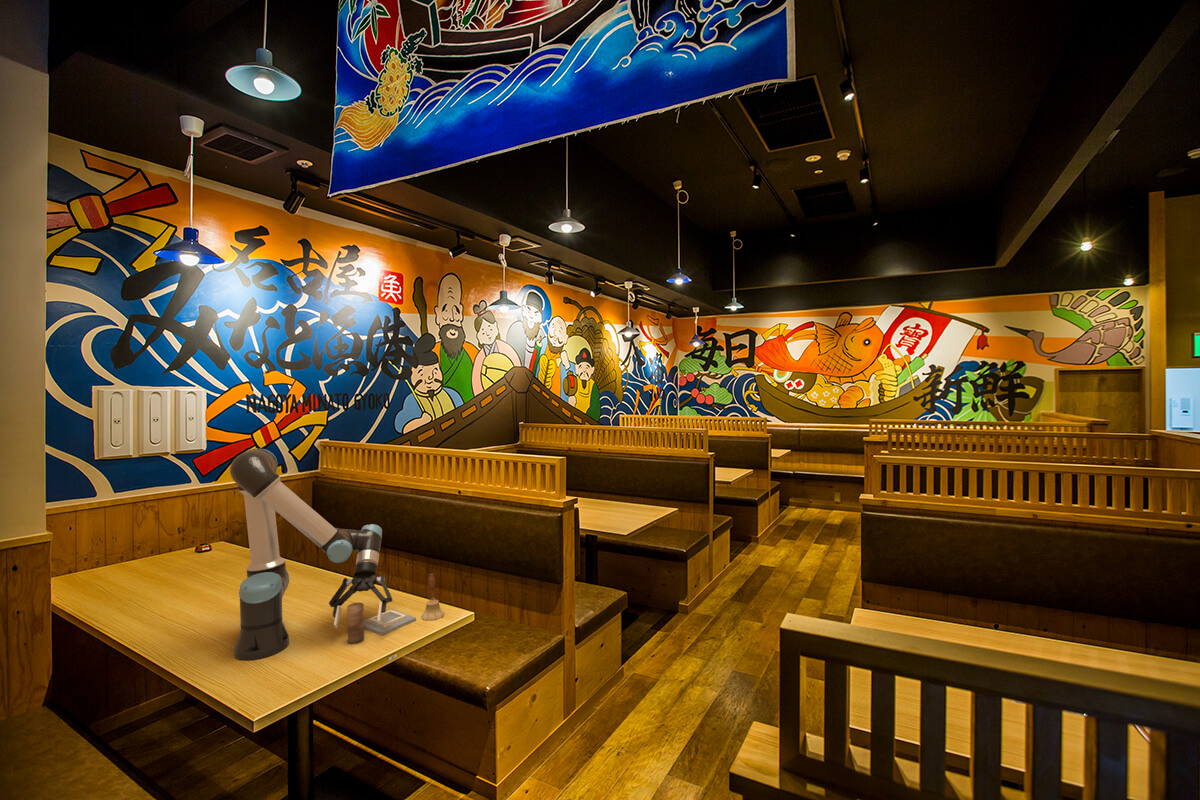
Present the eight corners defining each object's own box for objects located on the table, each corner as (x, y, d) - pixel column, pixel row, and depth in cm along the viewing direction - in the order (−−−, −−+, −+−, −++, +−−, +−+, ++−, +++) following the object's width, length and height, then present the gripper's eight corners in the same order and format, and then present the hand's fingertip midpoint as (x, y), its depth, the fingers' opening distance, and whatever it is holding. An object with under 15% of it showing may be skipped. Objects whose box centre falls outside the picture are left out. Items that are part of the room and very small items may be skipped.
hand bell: (431, 622, 192) (430, 579, 192) (416, 617, 197) (415, 575, 196) (449, 614, 199) (448, 572, 199) (434, 609, 204) (433, 568, 203)
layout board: (381, 635, 183) (381, 629, 182) (358, 625, 190) (358, 619, 190) (416, 620, 194) (415, 614, 194) (392, 611, 202) (392, 606, 202)
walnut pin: (353, 645, 175) (352, 609, 175) (344, 641, 178) (344, 606, 178) (367, 639, 180) (366, 604, 179) (358, 635, 182) (358, 601, 182)
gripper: (404, 567, 198) (398, 624, 184) (332, 573, 193) (320, 632, 179) (401, 557, 193) (395, 615, 178) (327, 563, 188) (314, 623, 173)
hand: (357, 624), depth 178 cm, fingers open, 13 cm apart
